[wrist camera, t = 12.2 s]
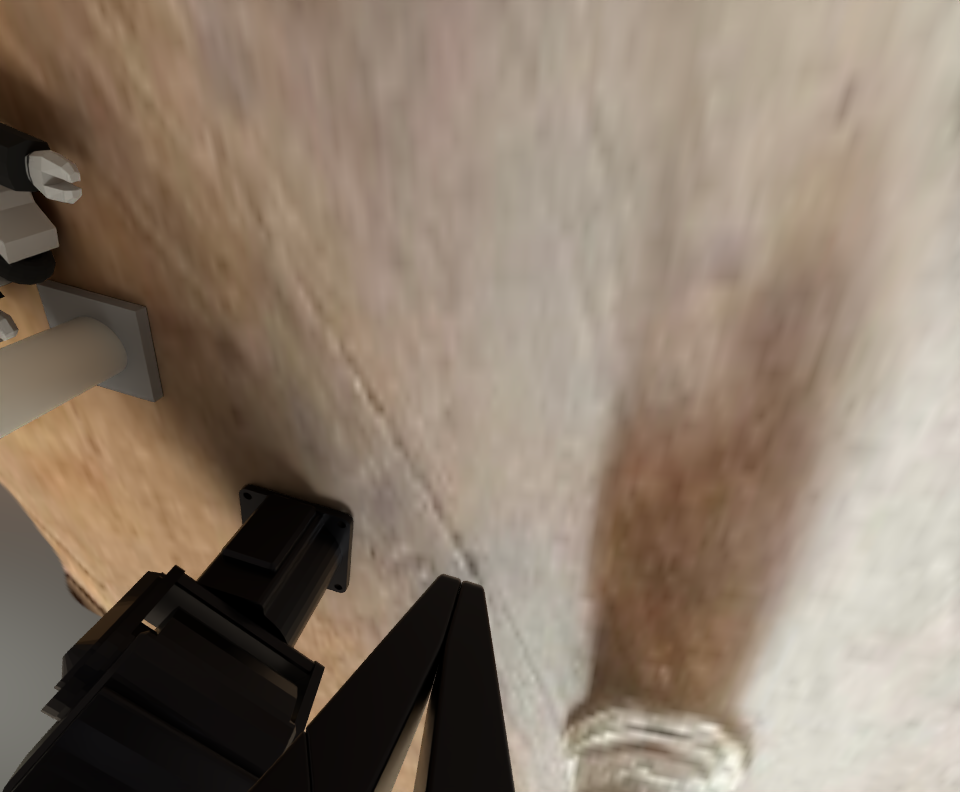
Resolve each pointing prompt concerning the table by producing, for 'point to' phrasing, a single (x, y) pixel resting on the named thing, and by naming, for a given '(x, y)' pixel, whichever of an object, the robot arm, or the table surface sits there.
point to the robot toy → (29, 210)
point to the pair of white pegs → (77, 355)
